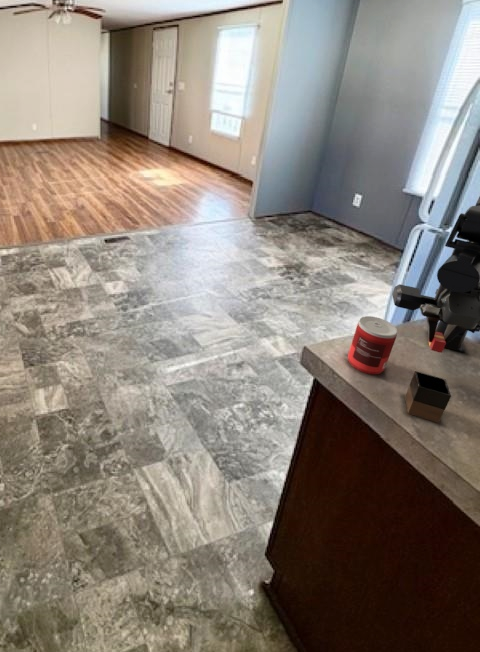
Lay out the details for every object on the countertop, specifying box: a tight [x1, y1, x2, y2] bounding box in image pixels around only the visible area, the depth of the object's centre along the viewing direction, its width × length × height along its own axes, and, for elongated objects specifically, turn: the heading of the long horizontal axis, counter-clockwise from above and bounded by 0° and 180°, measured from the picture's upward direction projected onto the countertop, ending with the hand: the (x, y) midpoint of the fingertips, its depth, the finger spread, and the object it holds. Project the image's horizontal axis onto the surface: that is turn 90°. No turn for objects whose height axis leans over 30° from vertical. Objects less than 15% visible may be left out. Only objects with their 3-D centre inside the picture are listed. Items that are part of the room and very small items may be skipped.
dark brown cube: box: [404, 384, 445, 424], centre depth 87 cm, size 5×5×4 cm
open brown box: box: [409, 370, 452, 411], centre depth 85 cm, size 5×5×4 cm
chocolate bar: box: [427, 332, 446, 354], centre depth 86 cm, size 4×2×2 cm, turn 152°
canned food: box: [347, 315, 399, 375], centre depth 98 cm, size 8×8×11 cm
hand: (436, 342), depth 86 cm, fingers closed on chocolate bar, 2 cm apart
